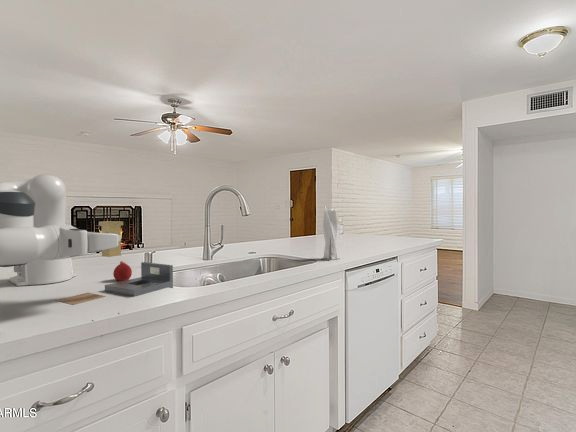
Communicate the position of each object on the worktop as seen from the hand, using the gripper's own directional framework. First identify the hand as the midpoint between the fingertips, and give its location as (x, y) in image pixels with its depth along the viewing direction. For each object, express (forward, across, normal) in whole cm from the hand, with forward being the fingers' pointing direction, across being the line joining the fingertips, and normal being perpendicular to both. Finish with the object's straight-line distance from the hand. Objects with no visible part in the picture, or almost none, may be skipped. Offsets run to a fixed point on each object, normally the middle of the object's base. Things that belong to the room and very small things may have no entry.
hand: (114, 237), depth 93 cm
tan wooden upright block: (-1, 0, -5) cm, 5 cm away
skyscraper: (+97, +31, -18) cm, 103 cm away
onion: (+12, -15, -18) cm, 26 cm away
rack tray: (+7, +2, -18) cm, 19 cm away
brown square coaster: (-8, -3, -18) cm, 20 cm away
